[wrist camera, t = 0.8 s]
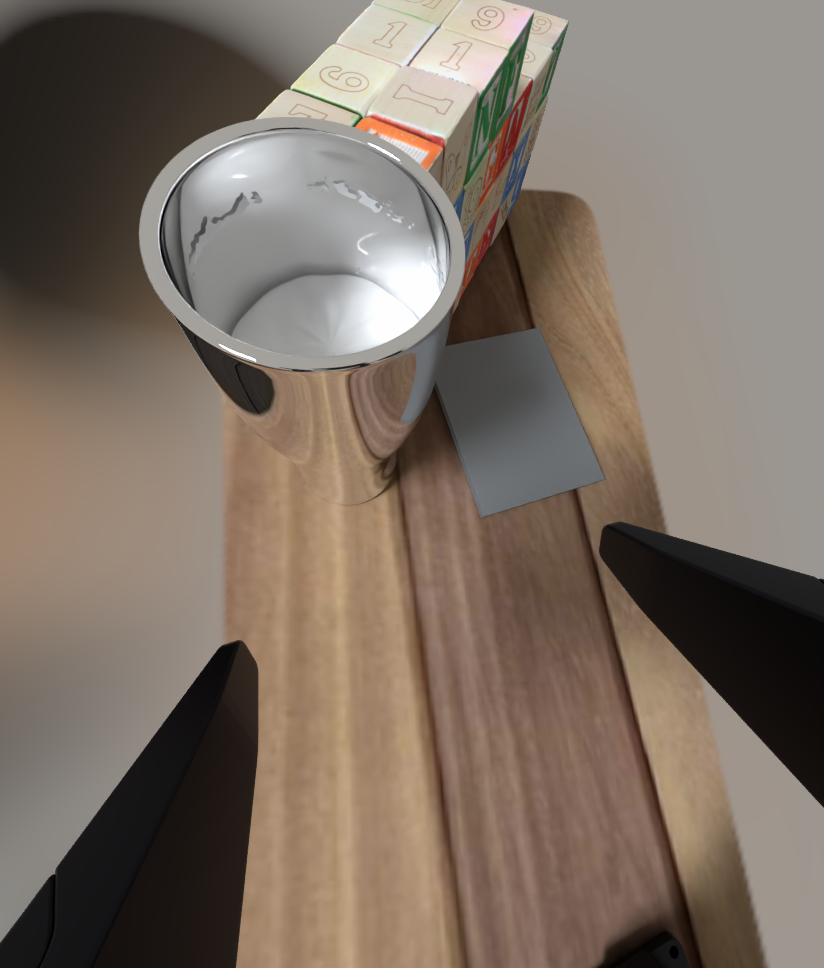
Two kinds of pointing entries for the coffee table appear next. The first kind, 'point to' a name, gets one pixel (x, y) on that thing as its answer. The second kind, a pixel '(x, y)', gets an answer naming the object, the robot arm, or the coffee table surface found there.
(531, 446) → the charcoal mat
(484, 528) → the coffee table surface
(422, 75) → the stack of blocks
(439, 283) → the chrome tapered cup
